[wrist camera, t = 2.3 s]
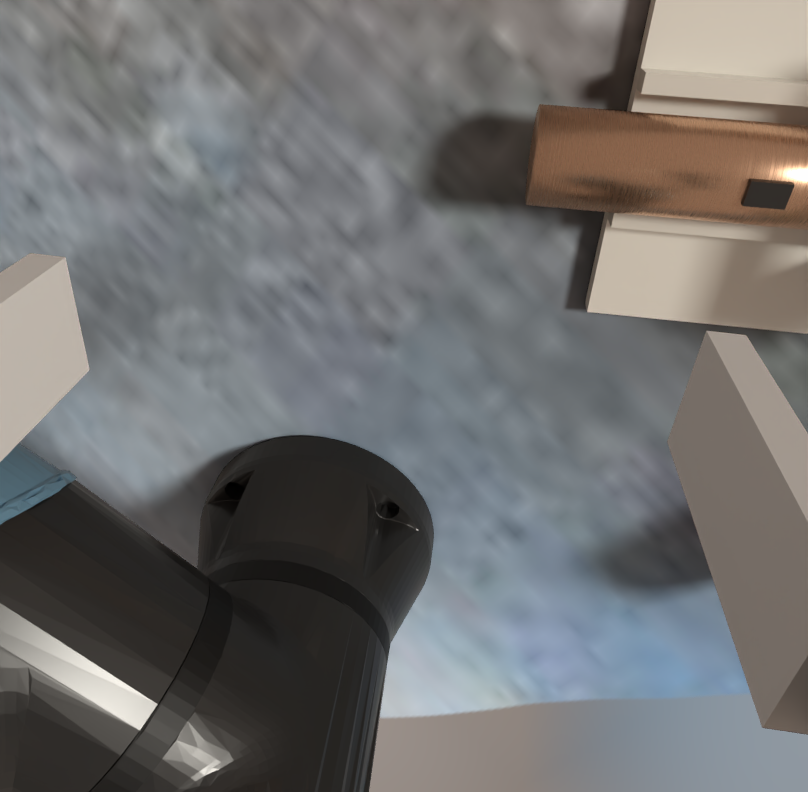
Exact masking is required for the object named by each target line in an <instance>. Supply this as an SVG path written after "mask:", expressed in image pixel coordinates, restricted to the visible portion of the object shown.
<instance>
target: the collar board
mask: <svg viewBox="0 0 808 792" xmlns="http://www.w3.org/2000/svg"><path fill="white" fill-rule="evenodd" d="M627 111H632V112H644V113H657V114H669V115H682V116H695V117H707V118H720V119H733V120H745V121H758V122H771V123H783V124H796V125H808V0H651V2H650V7H649V11H648V16H647V21H646V25H645V30H644V34H643V39H642V44H641V48H640V53H639V57H638V62H637V67H636V71H635V76H634V80H633V85H632V90H631V94H630V99H629V103H628V108H627ZM585 305H586V310H587V312H593V313H604V314H614V315H624V316H634V317H644V318H654V319H664V320H674V321H684V322H694V323H704V324H714V325H724V326H734V327H745V328H755V329H765V330H775V331H785V332H795V333H805V334H808V230H801V229H790V228H779V227H767V226H756V225H745V224H734V223H723V222H711V221H700V220H689V219H678V218H667V217H655V216H644V215H633V214H622V213H611V212H605V214H604V218H603V223H602V228H601V232H600V237H599V241H598V246H597V251H596V255H595V260H594V264H593V269H592V274H591V278H590V283H589V287H588V292H587V296H586V301H585Z"/></svg>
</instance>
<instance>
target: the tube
mask: <svg viewBox="0 0 808 792" xmlns="http://www.w3.org/2000/svg"><path fill="white" fill-rule="evenodd" d="M525 201H526V205H532V206H543V207H555V208H566V209H577V210H588V211H599V212H611V213H622V214H633V215H644V216H655V217H667V218H678V219H689V220H700V221H711V222H723V223H734V224H745V225H756V226H767V227H779V228H790V229H801V230H808V125H796V124H783V123H771V122H758V121H745V120H733V119H720V118H707V117H695V116H682V115H669V114H657V113H644V112H632V111H619V110H606V109H594V108H581V107H568V106H556V105H543V104H540V105H539V107H538V110H537V114H536V119H535V124H534V129H533V135H532V141H531V148H530V155H529V163H528V172H527V182H526V197H525Z"/></svg>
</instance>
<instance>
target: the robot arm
mask: <svg viewBox="0 0 808 792" xmlns="http://www.w3.org/2000/svg"><path fill="white" fill-rule="evenodd" d="M89 370H90V369H89V364H88V360H87V355H86V350H85V346H84V341H83V337H82V332H81V327H80V323H79V318H78V313H77V309H76V304H75V299H74V295H73V290H72V285H71V281H70V276H69V271H68V267H67V262H66V258H65V257H59V256H50V255H41V254H32V253H30V254H28V255H27V256H25V257H24V258H22V259H21V260H19V261H18V262H16V263H15V264H13V265H11V266H10V267H8V268H7V269H5V270H4V271H2V272H1V273H0V792H369V787H370V780H371V773H372V766H373V759H374V751H375V745H376V738H377V731H378V724H379V717H380V710H381V703H382V696H383V689H384V682H385V675H386V668H387V661H388V655H389V649H390V643H391V641H392V640H393V638H394V636H395V635H396V633H397V631H398V629H399V628H400V626H401V624H402V622H403V621H404V619H405V617H406V616H407V614H408V612H409V610H410V609H411V607H412V605H413V603H414V602H415V600H416V598H417V597H418V595H419V593H420V591H421V590H422V588H423V586H424V584H425V582H426V579H427V576H428V573H429V569H430V565H431V557H432V549H433V539H434V531H433V523H432V519H431V515H430V512H429V509H428V507H427V505H426V503H425V501H424V499H423V497H422V496H421V494H420V493H419V491H418V490H417V489H416V487H415V486H414V485H413V484H412V483H411V482H410V480H409V479H408V478H407V477H406V476H405V475H403V474H402V473H401V472H400V471H399V470H398V469H396V468H395V467H394V466H393V465H391V464H390V463H388V462H387V461H385V460H384V459H382V458H380V457H379V456H377V455H375V454H373V453H371V452H369V451H367V450H365V449H362V448H360V447H357V446H355V445H352V444H349V443H345V442H342V441H338V440H333V439H328V438H321V437H309V436H297V437H285V438H279V439H274V440H270V441H266V442H263V443H260V444H258V445H255V446H253V447H251V448H249V449H247V450H245V451H244V452H242V453H240V454H239V455H238V456H236V457H235V458H234V459H233V460H232V461H230V462H229V463H228V465H227V466H226V467H225V468H224V469H223V471H222V472H221V474H220V475H219V477H218V479H217V481H216V482H215V484H214V486H213V488H212V490H211V492H210V494H209V496H208V498H207V500H206V502H205V505H204V508H203V512H202V516H201V523H200V537H199V551H198V565H197V568H195V567H194V566H192V565H191V564H190V563H188V562H187V561H186V560H184V559H183V558H181V557H180V556H179V555H177V554H176V553H175V552H173V551H172V550H170V549H169V548H168V547H166V546H165V545H164V544H162V543H161V542H159V541H158V540H157V539H155V538H154V537H153V536H151V535H150V534H148V533H147V532H146V531H144V530H143V529H142V528H140V527H139V526H138V525H136V524H135V523H133V522H132V521H131V520H129V519H128V518H127V517H125V516H124V515H122V514H121V513H120V512H118V511H117V510H116V509H114V508H113V507H111V506H110V505H109V504H107V503H106V502H105V501H103V500H102V499H100V498H99V497H98V496H96V495H95V494H94V493H92V492H91V491H89V490H88V489H87V488H85V487H84V486H83V485H81V484H80V483H78V482H77V481H76V480H75V479H76V478H77V477H76V476H75V475H73V474H72V473H71V472H70V471H66V470H59V469H57V468H56V467H54V466H53V465H51V464H50V463H48V462H47V461H45V460H44V459H42V458H41V457H39V456H38V455H36V454H35V453H33V452H31V451H30V450H28V449H27V448H25V447H24V446H22V445H21V444H19V442H20V441H21V440H22V439H23V438H24V437H25V436H26V435H27V434H28V433H29V432H30V431H31V430H32V429H33V428H34V427H35V426H36V425H37V424H38V423H39V422H40V421H41V420H42V419H43V418H44V417H45V415H46V414H47V413H48V412H49V411H50V410H51V409H52V408H53V407H54V406H55V405H56V404H57V403H58V402H59V401H60V400H61V399H62V398H63V397H64V396H65V395H66V394H67V393H68V392H69V391H70V390H71V389H72V388H73V387H74V386H75V385H76V384H77V383H78V382H79V380H80V379H81V378H82V377H83V376H84V375H85V374H86V373H87V372H88V371H89ZM667 443H668V446H669V449H670V452H671V455H672V458H673V461H674V464H675V467H676V470H677V473H678V476H679V479H680V482H681V485H682V488H683V491H684V494H685V497H686V500H687V503H688V506H689V509H690V512H691V515H692V518H693V521H694V524H695V527H696V530H697V533H698V536H699V539H700V542H701V545H702V548H703V551H704V554H705V557H706V560H707V563H708V566H709V569H710V572H711V575H712V578H713V581H714V584H715V587H716V590H717V593H718V596H719V599H720V602H721V605H722V608H723V611H724V614H725V617H726V620H727V623H728V626H729V629H730V632H731V635H732V638H733V641H734V644H735V647H736V650H737V653H738V656H739V659H740V662H741V665H742V668H743V671H744V674H745V677H746V680H747V683H748V686H749V689H750V692H751V695H752V698H753V701H754V704H755V707H756V710H757V713H758V716H759V719H760V722H761V725H762V727H763V728H767V729H774V730H780V731H788V732H794V733H800V734H807V735H808V433H807V432H806V430H805V428H804V427H803V425H802V424H801V422H800V420H799V419H798V417H797V416H796V414H795V412H794V411H793V409H792V408H791V406H790V405H789V403H788V401H787V400H786V398H785V397H784V395H783V393H782V392H781V390H780V389H779V387H778V385H777V384H776V382H775V381H774V379H773V377H772V376H771V374H770V373H769V371H768V369H767V368H766V366H765V365H764V363H763V361H762V360H761V358H760V357H759V355H758V353H757V352H756V350H755V349H754V347H753V345H752V344H751V342H750V341H749V339H748V337H747V336H746V335H740V334H732V333H723V332H714V331H706V333H705V336H704V339H703V342H702V344H701V347H700V350H699V353H698V356H697V359H696V361H695V364H694V367H693V370H692V373H691V376H690V379H689V381H688V384H687V387H686V390H685V393H684V396H683V398H682V401H681V404H680V407H679V410H678V413H677V416H676V418H675V421H674V424H673V427H672V430H671V433H670V435H669V438H668V441H667Z"/></svg>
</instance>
